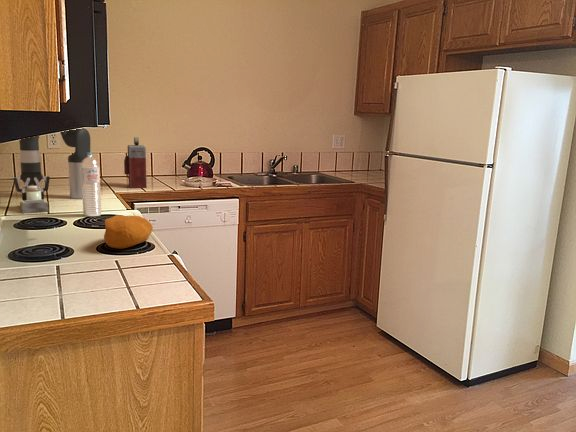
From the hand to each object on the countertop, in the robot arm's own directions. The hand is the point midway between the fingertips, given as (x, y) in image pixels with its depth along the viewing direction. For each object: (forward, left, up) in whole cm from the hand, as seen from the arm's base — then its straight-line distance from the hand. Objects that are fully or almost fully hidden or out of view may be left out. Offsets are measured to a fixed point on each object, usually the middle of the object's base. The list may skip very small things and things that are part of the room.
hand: (33, 200), depth 210 cm
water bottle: (-25, +19, -3) cm, 32 cm away
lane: (0, +1, -3) cm, 3 cm away
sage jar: (-1, +5, -3) cm, 6 cm away
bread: (-41, +67, -3) cm, 79 cm away
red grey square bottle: (-40, -62, -3) cm, 74 cm away
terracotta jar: (0, 0, -3) cm, 3 cm away
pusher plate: (-2, +8, -3) cm, 9 cm away
